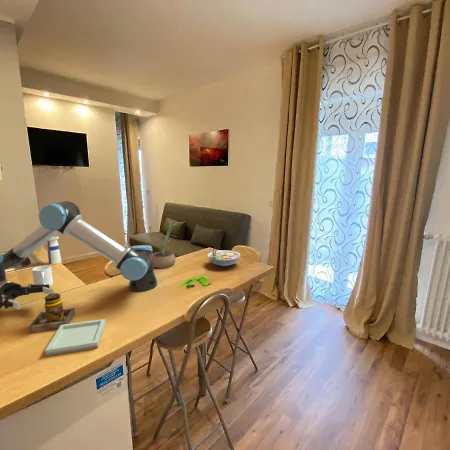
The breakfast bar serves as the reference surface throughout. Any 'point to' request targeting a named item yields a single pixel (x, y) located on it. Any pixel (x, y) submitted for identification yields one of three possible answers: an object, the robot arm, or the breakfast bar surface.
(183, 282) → the cloth
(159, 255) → the potted plant
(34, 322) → the holder
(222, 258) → the ramen bowl
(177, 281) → the breakfast bar surface
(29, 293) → the robot arm
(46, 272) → the mug
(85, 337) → the tray
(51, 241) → the water bottle
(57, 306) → the condiment
